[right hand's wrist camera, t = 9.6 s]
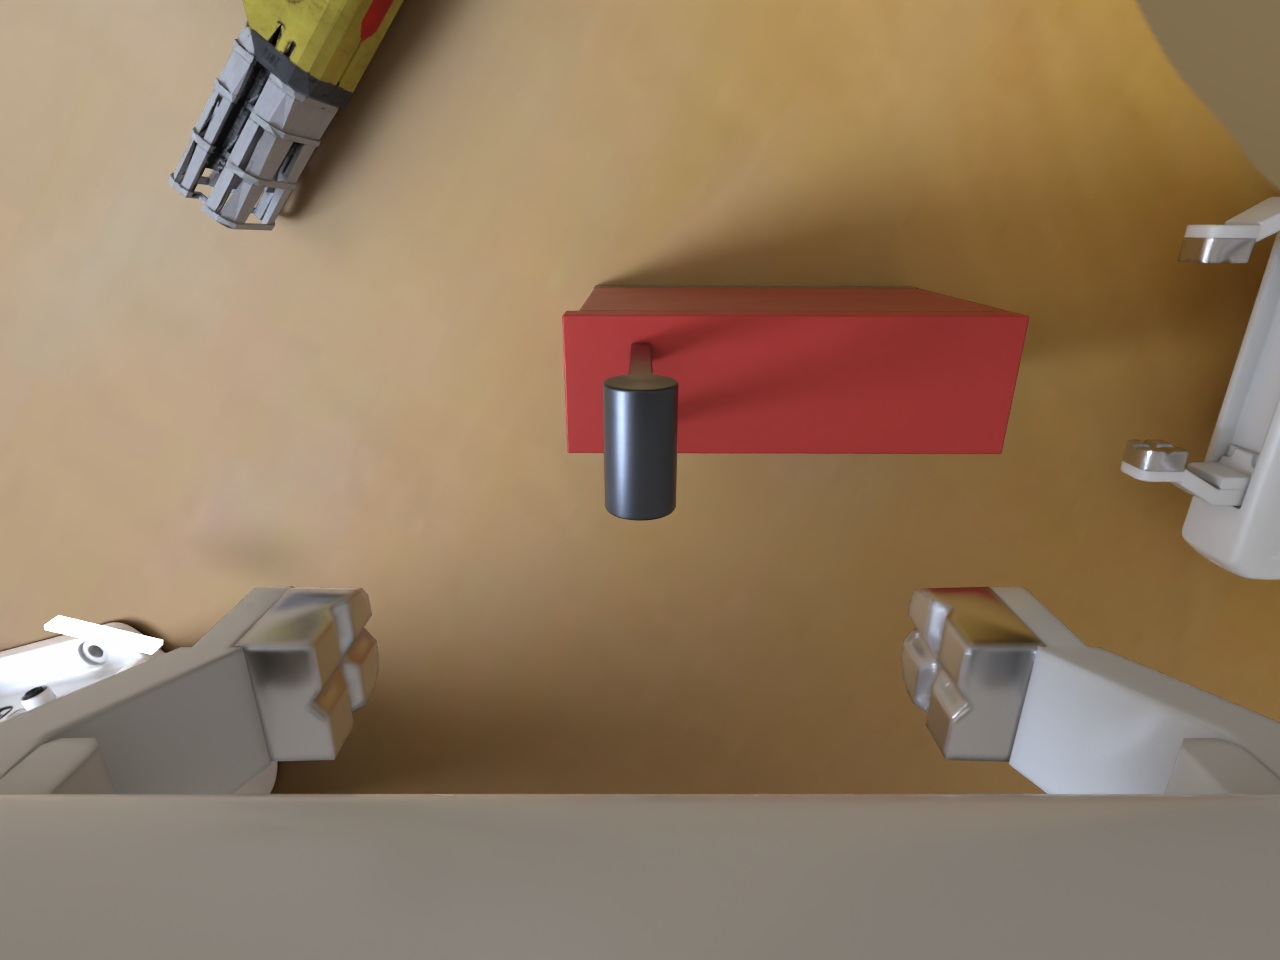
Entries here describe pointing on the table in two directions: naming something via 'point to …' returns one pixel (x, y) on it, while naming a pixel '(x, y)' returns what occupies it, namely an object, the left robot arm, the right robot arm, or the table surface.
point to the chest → (776, 299)
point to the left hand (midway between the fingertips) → (1160, 358)
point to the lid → (780, 388)
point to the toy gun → (277, 102)
